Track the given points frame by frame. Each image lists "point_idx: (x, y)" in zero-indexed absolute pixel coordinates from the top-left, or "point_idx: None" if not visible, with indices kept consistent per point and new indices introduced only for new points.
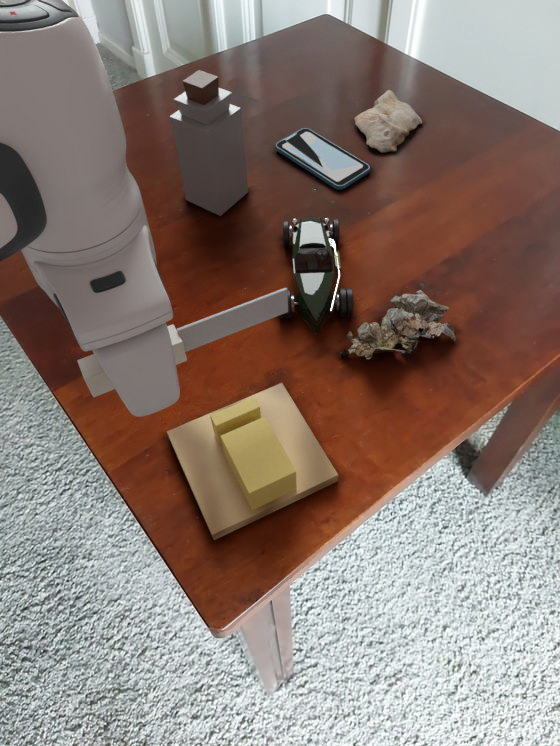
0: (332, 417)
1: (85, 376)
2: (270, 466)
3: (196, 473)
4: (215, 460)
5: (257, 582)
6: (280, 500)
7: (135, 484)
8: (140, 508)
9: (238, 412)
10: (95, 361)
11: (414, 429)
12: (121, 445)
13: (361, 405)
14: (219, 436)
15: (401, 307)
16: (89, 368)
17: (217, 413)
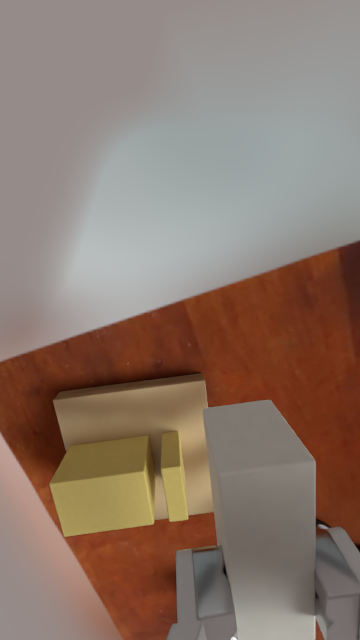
0: (163, 529)
1: (230, 479)
2: (79, 514)
3: (134, 400)
4: (144, 424)
5: (4, 420)
6: None
7: (155, 324)
8: (122, 324)
9: (171, 498)
10: (280, 514)
11: (124, 586)
12: (214, 317)
13: (167, 556)
14: (161, 449)
15: None
16: (259, 494)
17: (179, 475)
